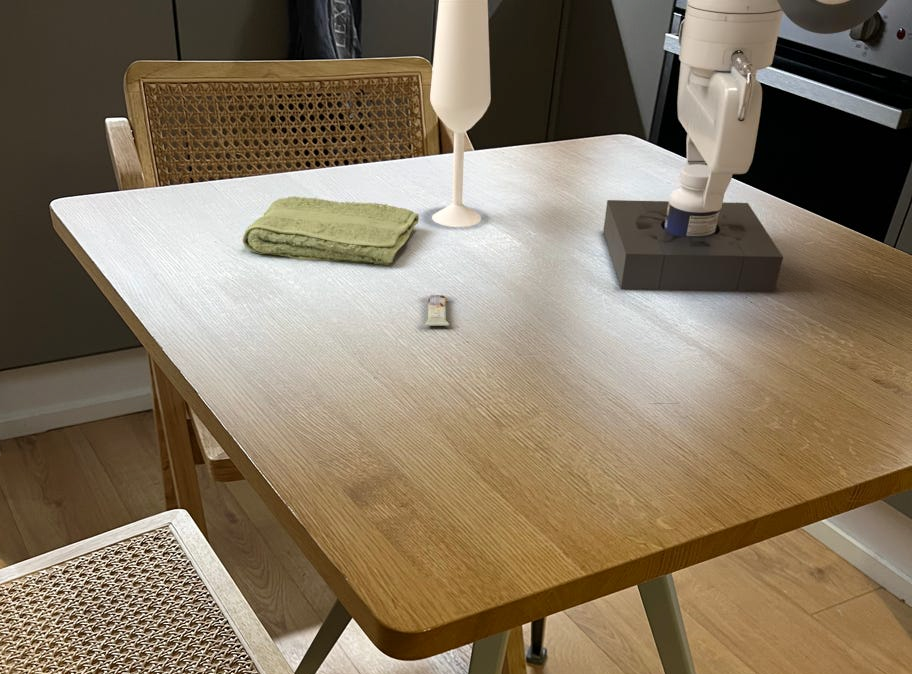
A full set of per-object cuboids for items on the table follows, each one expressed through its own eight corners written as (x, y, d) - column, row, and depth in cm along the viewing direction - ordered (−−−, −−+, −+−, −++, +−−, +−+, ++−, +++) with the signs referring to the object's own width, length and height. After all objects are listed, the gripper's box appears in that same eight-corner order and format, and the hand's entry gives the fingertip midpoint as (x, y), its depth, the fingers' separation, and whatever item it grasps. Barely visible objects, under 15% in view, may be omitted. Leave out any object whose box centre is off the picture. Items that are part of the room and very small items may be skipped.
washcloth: (396, 272, 104) (396, 241, 101) (239, 257, 106) (236, 227, 104) (421, 229, 113) (421, 200, 111) (276, 216, 115) (274, 188, 113)
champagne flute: (477, 233, 112) (488, -13, 96) (422, 227, 114) (423, -17, 97) (490, 213, 117) (502, -24, 101) (436, 208, 118) (440, -28, 102)
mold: (739, 238, 112) (747, 202, 110) (773, 295, 101) (783, 256, 98) (602, 235, 112) (607, 199, 110) (620, 292, 101) (626, 253, 98)
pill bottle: (651, 256, 108) (666, 162, 101) (696, 253, 109) (715, 160, 102) (668, 275, 104) (685, 179, 98) (715, 272, 105) (735, 177, 98)
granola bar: (449, 331, 93) (449, 320, 92) (424, 330, 93) (425, 320, 92) (448, 301, 98) (448, 291, 97) (425, 301, 98) (425, 291, 97)
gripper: (789, 66, 84) (754, 228, 94) (738, 20, 100) (712, 164, 109) (717, 66, 85) (689, 228, 94) (677, 20, 100) (656, 164, 109)
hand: (701, 193), depth 101 cm, fingers open, 8 cm apart
